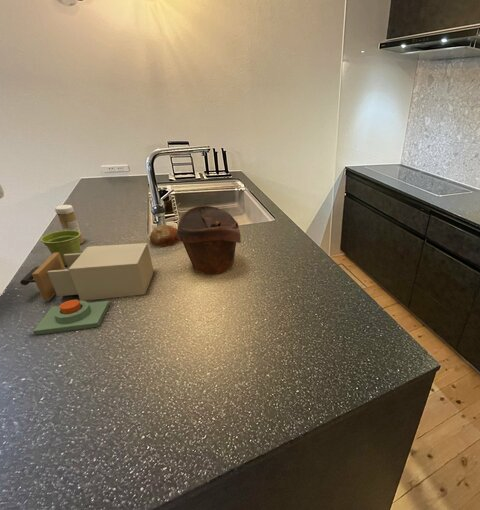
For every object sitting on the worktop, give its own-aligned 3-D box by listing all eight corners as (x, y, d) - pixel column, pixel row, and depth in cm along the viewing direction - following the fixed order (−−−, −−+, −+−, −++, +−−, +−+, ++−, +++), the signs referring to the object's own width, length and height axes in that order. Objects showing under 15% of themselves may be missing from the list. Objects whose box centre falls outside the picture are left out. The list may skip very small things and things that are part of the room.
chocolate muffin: (222, 285, 91) (215, 230, 83) (168, 270, 96) (157, 217, 88) (255, 260, 106) (252, 211, 98) (208, 248, 112) (201, 201, 103)
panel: (34, 335, 68) (29, 324, 67) (53, 310, 76) (49, 300, 75) (98, 326, 72) (94, 316, 71) (110, 304, 80) (107, 294, 78)
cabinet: (80, 301, 80) (68, 268, 75) (97, 276, 91) (87, 246, 86) (145, 294, 85) (137, 263, 80) (153, 271, 95) (147, 242, 91)
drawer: (22, 302, 76) (8, 275, 73) (44, 278, 86) (34, 253, 82) (107, 294, 82) (98, 268, 78) (119, 272, 92) (112, 248, 88)
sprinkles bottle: (65, 243, 107) (51, 206, 100) (80, 239, 110) (67, 203, 104) (72, 246, 105) (58, 209, 99) (87, 242, 108) (75, 206, 102)
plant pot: (50, 271, 91) (39, 245, 87) (50, 258, 97) (40, 233, 93) (89, 263, 96) (81, 238, 93) (87, 251, 103) (79, 227, 99)
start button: (59, 315, 71) (56, 309, 70) (65, 306, 74) (63, 300, 73) (78, 313, 72) (75, 307, 71) (83, 304, 75) (81, 298, 74)
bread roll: (160, 244, 119) (146, 228, 114) (185, 232, 120) (172, 215, 115) (157, 256, 111) (141, 238, 106) (183, 243, 112) (169, 225, 107)
